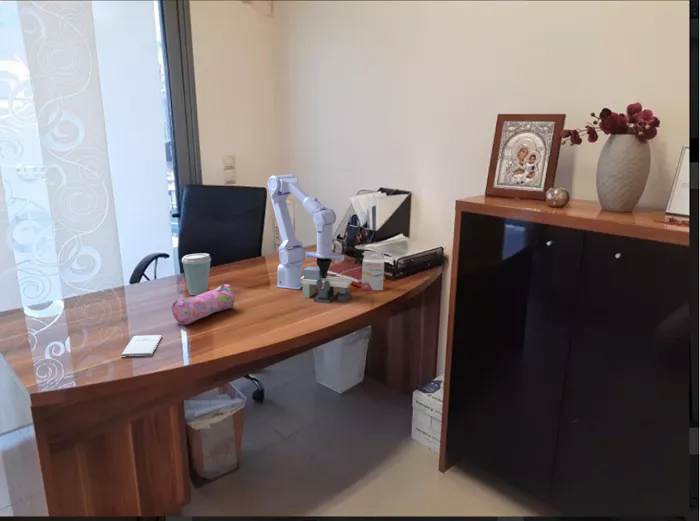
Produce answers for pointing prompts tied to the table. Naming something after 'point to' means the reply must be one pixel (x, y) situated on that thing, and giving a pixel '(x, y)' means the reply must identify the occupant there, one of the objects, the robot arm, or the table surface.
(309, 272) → the block
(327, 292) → the stand
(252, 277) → the table surface
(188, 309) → the pencil case
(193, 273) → the disposable coffee cup
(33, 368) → the table surface
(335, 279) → the plank
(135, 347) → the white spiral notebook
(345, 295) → the tip stop
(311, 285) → the level rest
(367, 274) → the ink cartridge box
